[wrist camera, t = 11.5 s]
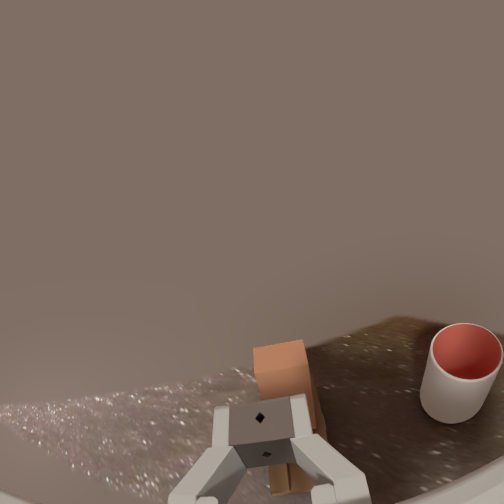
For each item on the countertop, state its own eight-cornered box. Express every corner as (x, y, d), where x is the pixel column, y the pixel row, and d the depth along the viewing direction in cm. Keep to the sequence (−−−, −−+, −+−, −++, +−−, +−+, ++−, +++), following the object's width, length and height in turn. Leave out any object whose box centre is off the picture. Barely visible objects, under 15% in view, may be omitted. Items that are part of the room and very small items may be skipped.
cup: (408, 384, 40) (417, 335, 35) (463, 363, 39) (477, 314, 35) (433, 438, 31) (452, 393, 26) (492, 410, 30) (517, 362, 26)
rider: (312, 411, 37) (302, 339, 31) (317, 433, 34) (308, 363, 28) (274, 417, 37) (253, 348, 32) (276, 440, 34) (254, 373, 28)
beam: (316, 388, 44) (313, 371, 42) (336, 491, 29) (337, 480, 27) (266, 397, 44) (261, 381, 43) (274, 501, 29) (268, 491, 27)
